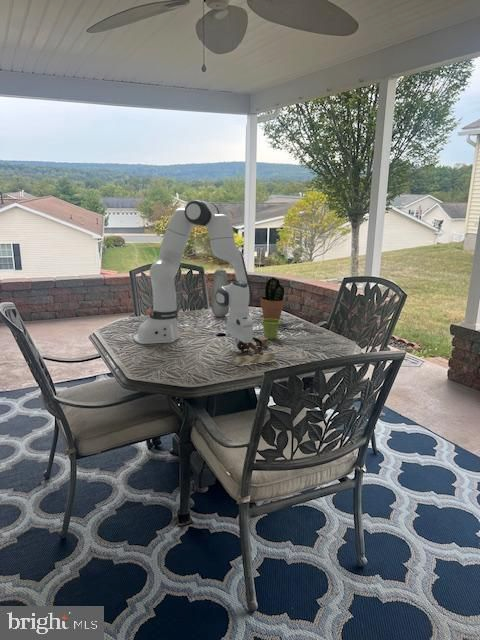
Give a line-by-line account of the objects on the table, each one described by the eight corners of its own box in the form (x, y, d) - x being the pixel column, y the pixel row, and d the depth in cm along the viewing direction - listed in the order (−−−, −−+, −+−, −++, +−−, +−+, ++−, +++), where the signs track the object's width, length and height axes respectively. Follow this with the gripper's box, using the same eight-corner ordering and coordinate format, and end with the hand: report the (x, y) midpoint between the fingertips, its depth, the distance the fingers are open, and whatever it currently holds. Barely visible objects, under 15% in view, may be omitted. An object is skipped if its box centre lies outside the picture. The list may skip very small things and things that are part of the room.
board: (237, 367, 188) (238, 356, 186) (235, 365, 189) (236, 355, 188) (275, 361, 195) (275, 351, 194) (273, 360, 197) (273, 350, 196)
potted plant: (257, 322, 257) (258, 278, 251) (262, 316, 270) (264, 275, 263) (280, 324, 253) (283, 280, 247) (285, 319, 266) (287, 276, 259)
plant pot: (257, 338, 228) (258, 321, 226) (265, 333, 236) (266, 317, 234) (275, 341, 224) (275, 324, 222) (282, 336, 232) (283, 320, 230)
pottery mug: (252, 349, 212) (260, 336, 208) (259, 363, 206) (268, 350, 202) (230, 346, 206) (238, 332, 202) (237, 360, 200) (245, 347, 196)
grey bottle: (219, 313, 274) (219, 267, 267) (232, 316, 268) (233, 269, 261) (208, 316, 267) (208, 269, 260) (220, 319, 261) (221, 271, 253)
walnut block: (262, 348, 213) (262, 340, 212) (255, 346, 216) (256, 338, 215) (267, 346, 216) (268, 338, 215) (261, 344, 218) (261, 336, 217)
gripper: (223, 312, 211) (222, 341, 214) (242, 323, 193) (241, 354, 197) (235, 311, 214) (234, 339, 217) (255, 322, 196) (254, 352, 200)
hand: (238, 346), depth 207 cm, fingers closed
